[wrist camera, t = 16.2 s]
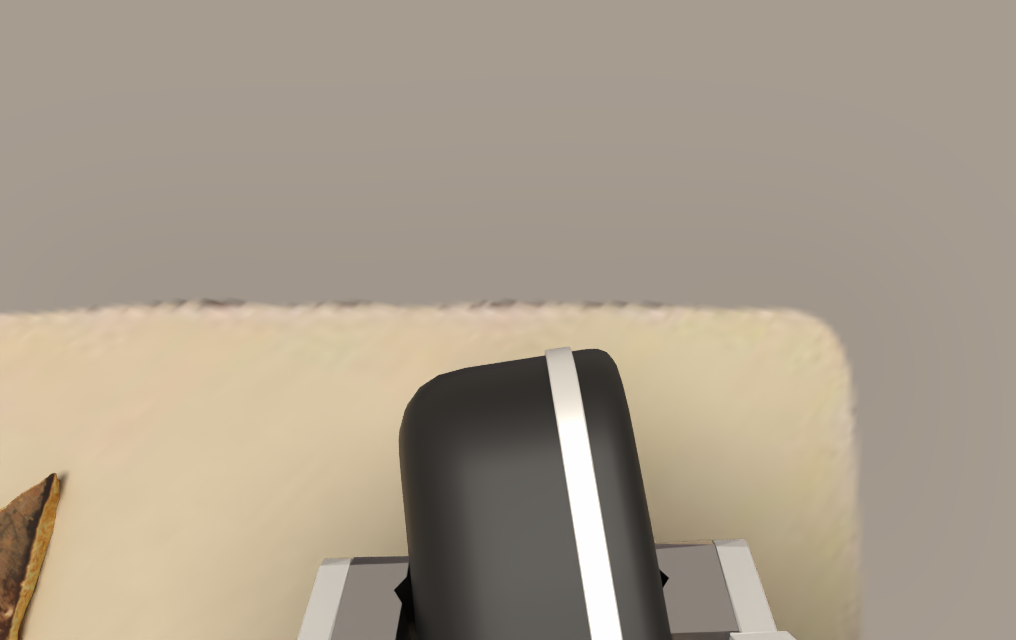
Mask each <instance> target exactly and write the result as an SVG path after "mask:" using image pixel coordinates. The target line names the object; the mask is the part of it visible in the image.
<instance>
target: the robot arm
mask: <svg viewBox="0 0 1016 640" xmlns="http://www.w3.org/2000/svg"><path fill="white" fill-rule="evenodd" d="M654 544H655V549H656V554H657V559H658V565H659V570H660V576H661V581H662V587H663V592H664V598H665V603H666V609H667V614H668V620H669V625H670V631H671V636H672V640H797V639H796V638H795V637H794V636H793V635H791V634H790V633H789V632H788V631H778V630H777V627H776V624H775V622H774V619H773V616H772V613H771V610H770V607H769V604H768V601H767V598H766V595H765V592H764V589H763V586H762V583H761V580H760V577H759V574H758V571H757V568H756V565H755V563H754V560H753V557H752V554H751V551H750V548H749V545H748V543H747V542H746V541H745V540H744V539H729V540H713V541H711V540H698V541H682V542H666V543H654ZM297 640H417V633H416V623H415V614H414V604H413V594H412V584H411V574H410V564H409V556H397V557H352V558H326V559H324V561H323V562H322V564H321V565H320V567H319V569H318V572H317V575H316V579H315V582H314V585H313V588H312V592H311V595H310V598H309V602H308V605H307V608H306V611H305V615H304V618H303V621H302V625H301V628H300V631H299V634H298V638H297Z"/></svg>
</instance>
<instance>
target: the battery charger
mask: <svg viewBox="0 0 1016 640" xmlns="http://www.w3.org/2000/svg"><path fill="white" fill-rule="evenodd" d="M399 457H400V469H401V481H402V491H403V501H404V512H405V522H406V532H407V543H408V553H409V564H410V574H411V584H412V594H413V604H414V614H415V623H416V633H417V640H672V636H671V631H670V625H669V620H668V614H667V609H666V603H665V598H664V592H663V587H662V581H661V576H660V570H659V565H658V559H657V554H656V549H655V544H654V538H653V533H652V528H651V522H650V517H649V512H648V506H647V501H646V496H645V491H644V485H643V480H642V475H641V469H640V464H639V459H638V453H637V448H636V443H635V438H634V433H633V428H632V423H631V418H630V413H629V408H628V404H627V400H626V396H625V392H624V388H623V384H622V381H621V377H620V374H619V371H618V368H617V365H616V364H615V362H614V360H613V359H612V358H611V357H610V355H609V354H608V353H607V352H605V351H602V350H599V349H585V350H578V351H571V349H570V347H562V348H556V349H550V350H545V356H539V357H533V358H527V359H520V360H514V361H507V362H501V363H494V364H488V365H481V366H475V367H468V368H463V369H460V370H456V371H452V372H449V373H445V374H441V375H438V376H436V377H435V378H433V379H432V380H430V381H429V382H427V383H426V384H424V385H423V386H421V387H420V388H419V389H418V391H417V392H416V393H415V395H414V396H413V398H412V399H411V401H410V402H409V403H408V405H407V407H406V409H405V412H404V416H403V420H402V423H401V427H400V432H399Z"/></svg>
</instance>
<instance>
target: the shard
mask: <svg viewBox="0 0 1016 640" xmlns="http://www.w3.org/2000/svg"><path fill="white" fill-rule="evenodd" d="M59 499H60V480H57V475H56V473H52V474H51V475H49V476H48V477H47V478H46V479H44V480H43V481H41V482H40V483H39V484H37V485H35V486H34V487H32V488H30V489H29V490H27V491H25V492H23V493H22V494H20V496H18V497H17V498H15V499H14V500H13V501H12V502H10V503H9V504H8V505H7V506H6V507H4V508H1V509H0V640H18V629H19V627H20V624H21V622H22V620H23V617H24V614H25V611H26V608H27V606H28V603H29V601H30V599H31V597H32V594H33V592H34V588H35V584H36V581H37V579H38V576H39V573H40V568H41V565H42V563H43V561H44V558H45V555H46V549H47V546H48V544H49V542H50V538H51V536H52V533H53V528H54V521H55V518H56V508H57V504H58V501H59Z"/></svg>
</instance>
